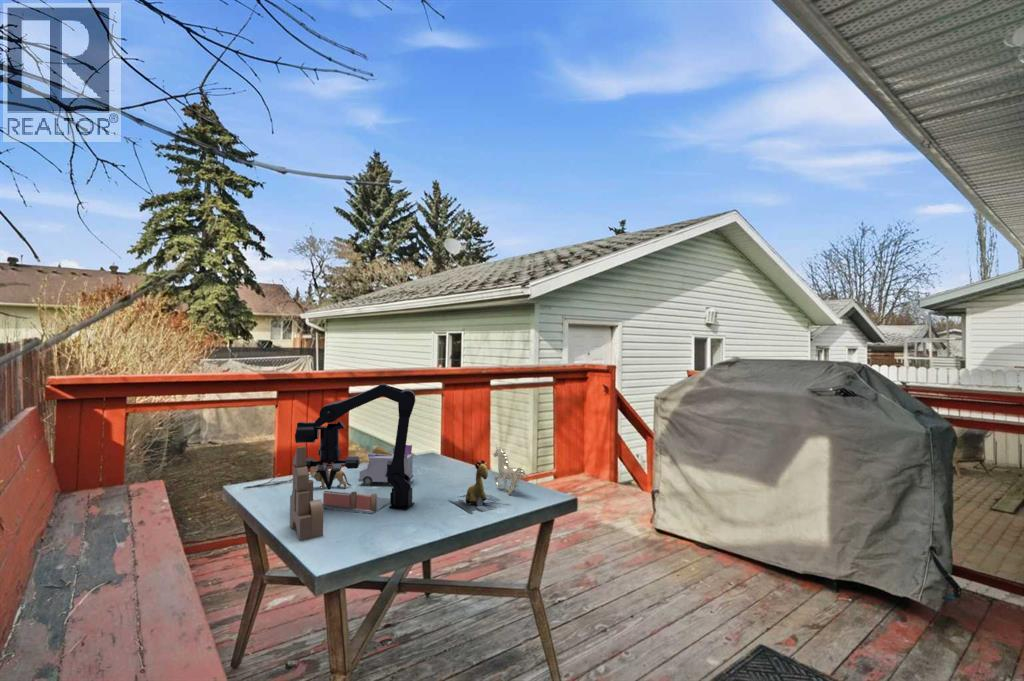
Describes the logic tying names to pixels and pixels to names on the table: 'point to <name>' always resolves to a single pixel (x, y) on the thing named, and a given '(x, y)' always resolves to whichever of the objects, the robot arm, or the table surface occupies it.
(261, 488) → the table surface
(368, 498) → the fixed fence
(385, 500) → the board
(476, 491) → the stuffed giraffe
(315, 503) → the wooden toy
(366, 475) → the toy vehicle
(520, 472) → the unicorn
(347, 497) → the gate panel
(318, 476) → the lion figurine
